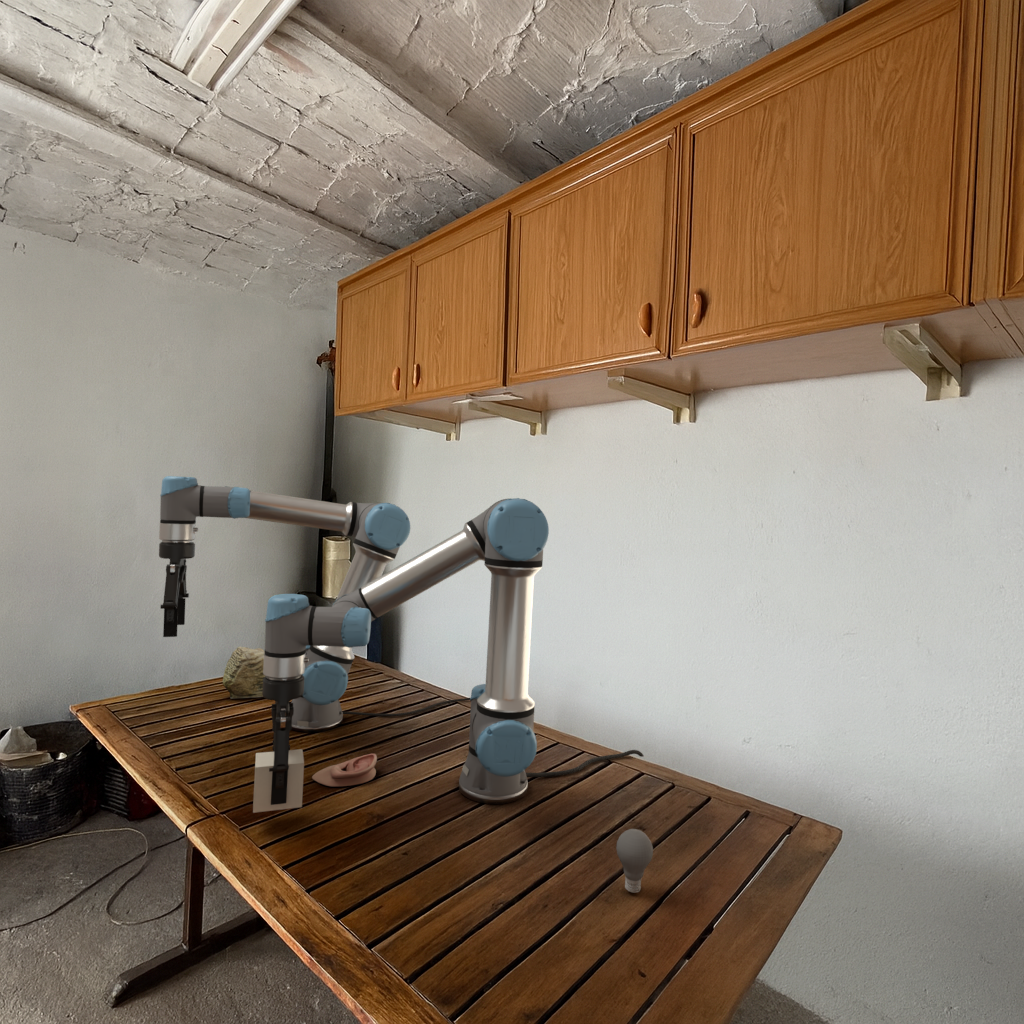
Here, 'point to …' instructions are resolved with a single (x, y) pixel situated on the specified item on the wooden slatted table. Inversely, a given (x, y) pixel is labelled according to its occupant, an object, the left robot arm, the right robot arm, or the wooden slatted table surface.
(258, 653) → the fossil
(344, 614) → the right robot arm
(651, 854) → the light bulb
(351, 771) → the anatomical model
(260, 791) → the beige block
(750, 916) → the wooden slatted table surface
